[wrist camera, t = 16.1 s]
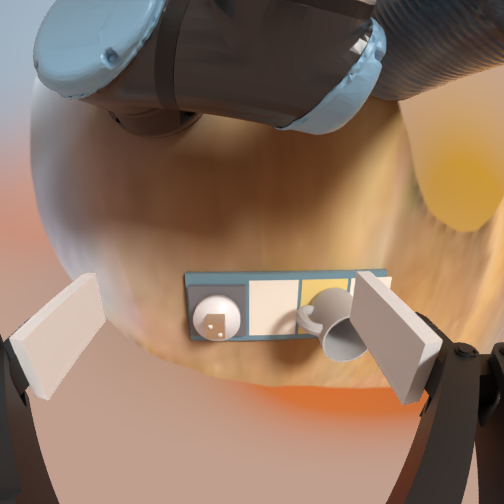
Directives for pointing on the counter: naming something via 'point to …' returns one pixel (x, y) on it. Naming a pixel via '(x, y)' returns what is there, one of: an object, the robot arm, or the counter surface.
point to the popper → (216, 317)
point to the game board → (268, 298)
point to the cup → (332, 324)
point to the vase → (436, 43)
